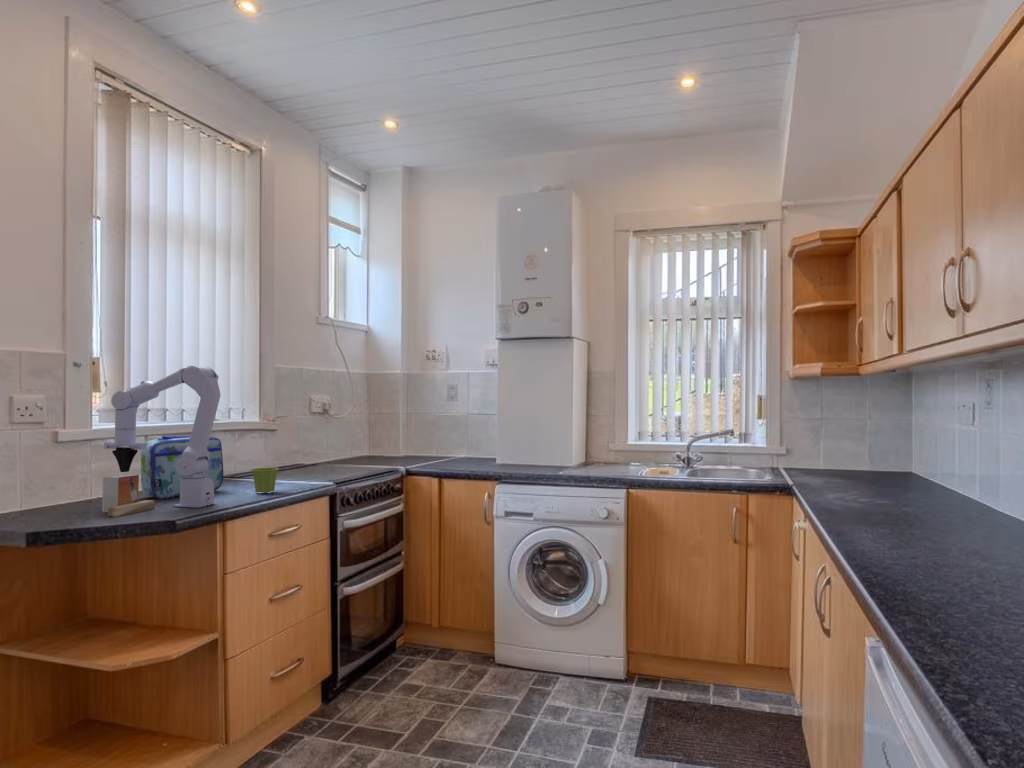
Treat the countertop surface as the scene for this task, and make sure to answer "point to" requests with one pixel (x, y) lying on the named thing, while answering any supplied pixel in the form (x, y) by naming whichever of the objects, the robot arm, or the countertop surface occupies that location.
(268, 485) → the plant pot
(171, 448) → the lunch box
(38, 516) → the countertop surface
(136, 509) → the batten
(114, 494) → the small box
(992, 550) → the countertop surface
